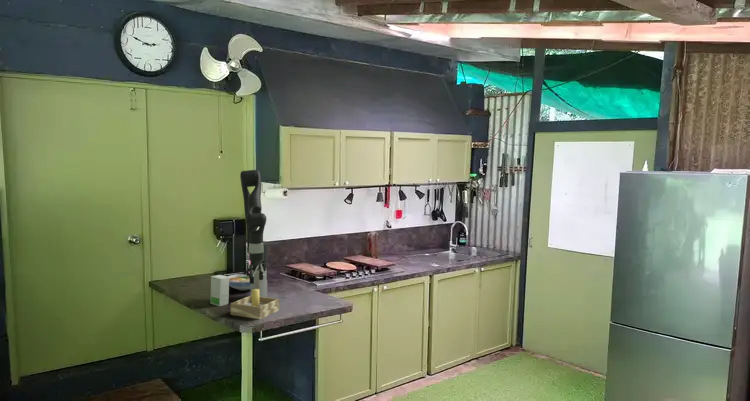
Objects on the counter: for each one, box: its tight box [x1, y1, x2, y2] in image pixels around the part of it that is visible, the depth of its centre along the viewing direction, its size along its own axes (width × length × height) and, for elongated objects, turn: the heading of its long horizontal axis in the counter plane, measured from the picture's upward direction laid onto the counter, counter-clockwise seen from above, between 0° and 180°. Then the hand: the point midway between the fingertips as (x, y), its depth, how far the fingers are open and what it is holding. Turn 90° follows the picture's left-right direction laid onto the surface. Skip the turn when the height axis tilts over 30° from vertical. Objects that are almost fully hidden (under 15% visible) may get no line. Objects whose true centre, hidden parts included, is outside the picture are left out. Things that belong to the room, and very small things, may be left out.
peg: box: [252, 289, 260, 307], centre depth 275 cm, size 4×4×12 cm
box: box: [230, 295, 281, 320], centre depth 275 cm, size 18×18×6 cm
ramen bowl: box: [227, 272, 269, 292], centre depth 323 cm, size 25×23×8 cm
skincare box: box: [210, 274, 230, 307], centre depth 289 cm, size 8×7×16 cm
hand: (256, 281), depth 274 cm, fingers open, 8 cm apart
